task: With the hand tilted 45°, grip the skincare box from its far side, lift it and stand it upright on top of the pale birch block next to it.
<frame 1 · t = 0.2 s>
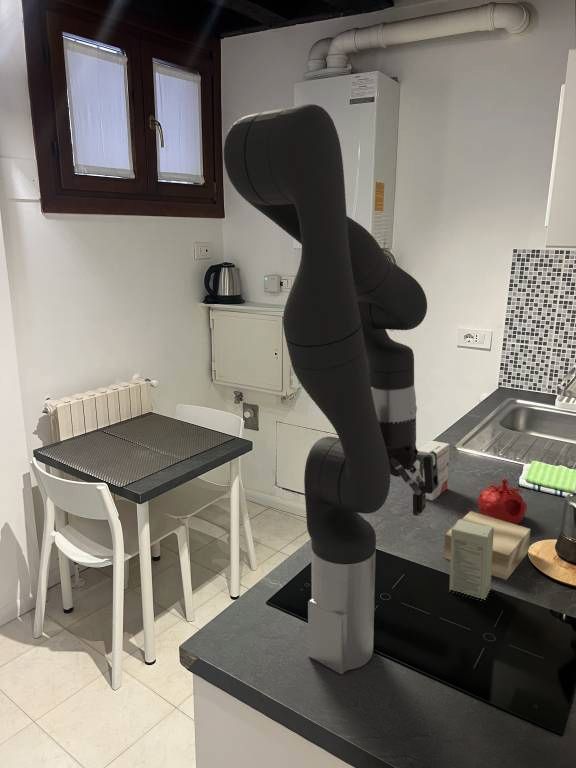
hand: (392, 507, 93), 18 cm above the worktop, tool pointing down, fingers open, 8 cm apart
skincare box: (468, 591, 102), on the worktop
birch block: (486, 554, 112), on the worktop
ink box: (430, 493, 140), on the worktop
pomegranate: (500, 520, 126), on the worktop
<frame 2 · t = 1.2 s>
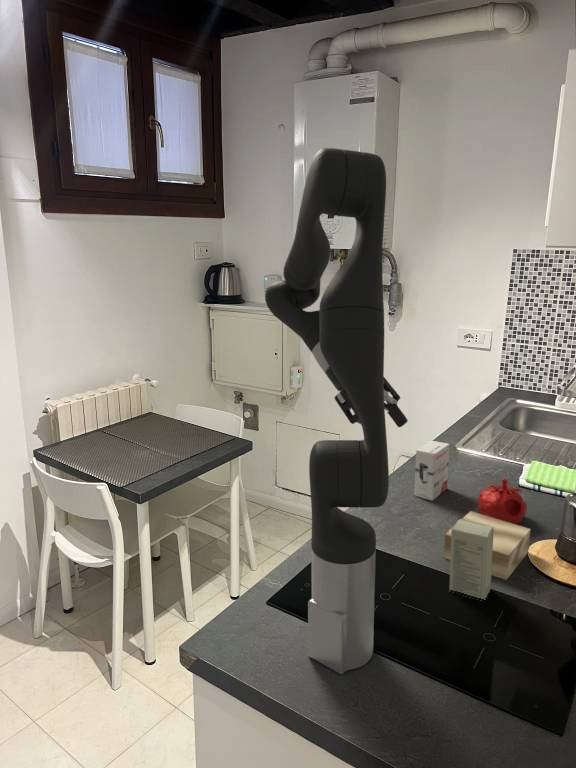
hand: (392, 430, 105), 26 cm above the worktop, tool tilted 45°, fingers open, 8 cm apart
nothing on the worktop moved.
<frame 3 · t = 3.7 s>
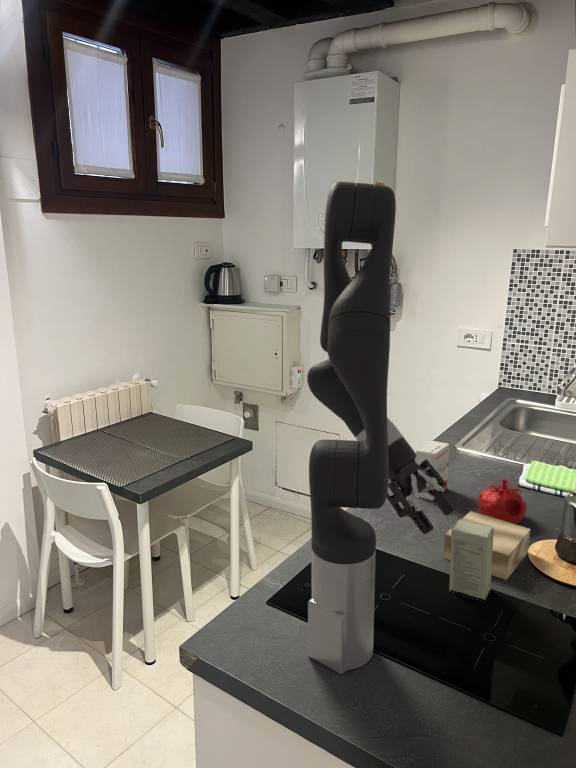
hand: (440, 522, 102), 11 cm above the worktop, tool tilted 45°, fingers open, 8 cm apart
nothing on the worktop moved.
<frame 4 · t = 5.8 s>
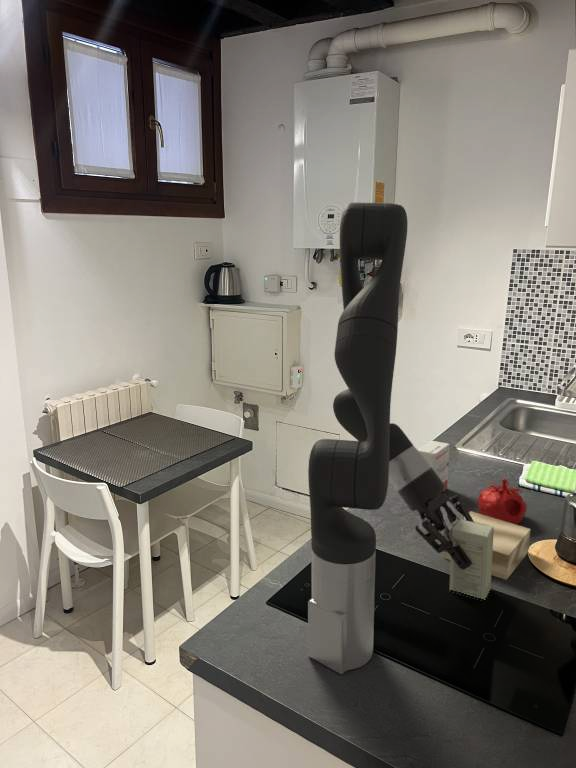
hand: (473, 559, 100), 6 cm above the worktop, tool tilted 45°, fingers closed on skincare box, 4 cm apart
skincare box: (469, 591, 102), on the worktop, touching gripper
everything else where it was.
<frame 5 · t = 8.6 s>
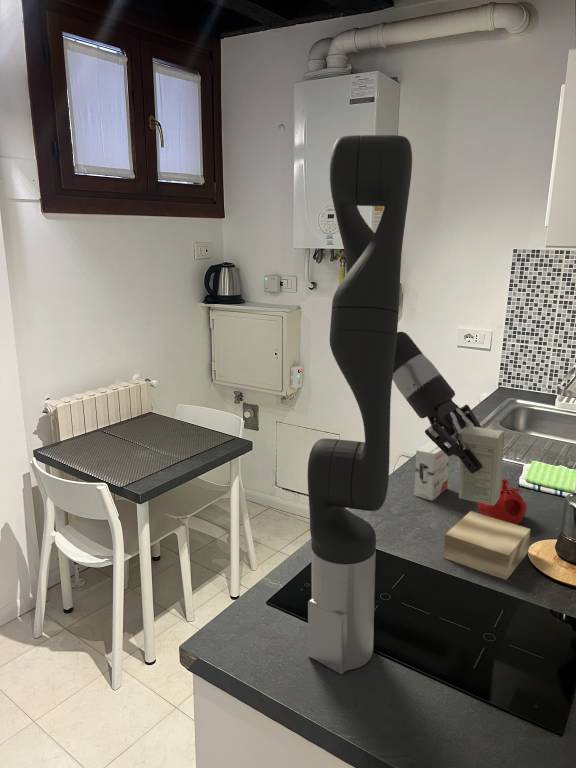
hand: (483, 465, 99), 22 cm above the worktop, tool tilted 45°, fingers closed on skincare box, 4 cm apart
skincare box: (478, 498, 101), point 16 cm above the worktop, touching gripper
everything else where it was.
when the fingers open (12 cm above the worktop, at t = 11.4 s): skincare box drops 1 cm, resting on birch block.
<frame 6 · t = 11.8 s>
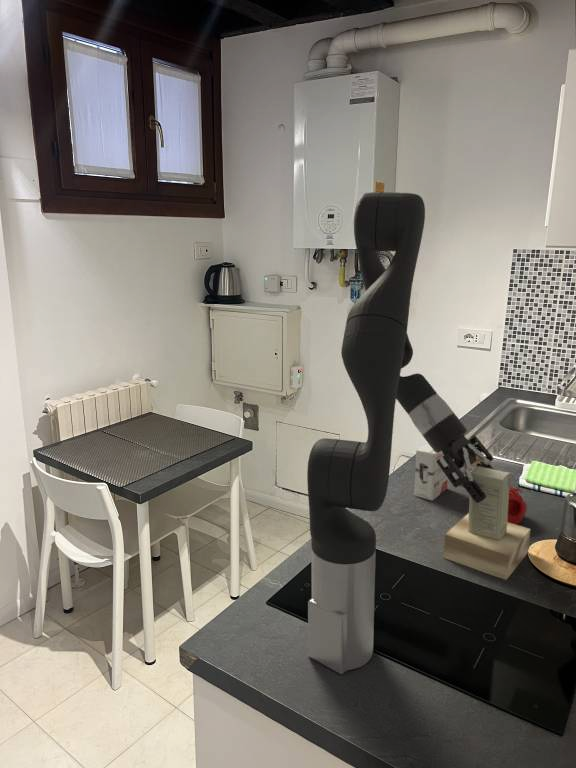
hand: (490, 492, 109), 13 cm above the worktop, tool tilted 45°, fingers open, 8 cm apart
skincare box: (486, 532, 111), point 5 cm above the worktop, touching birch block
everything else where it was.
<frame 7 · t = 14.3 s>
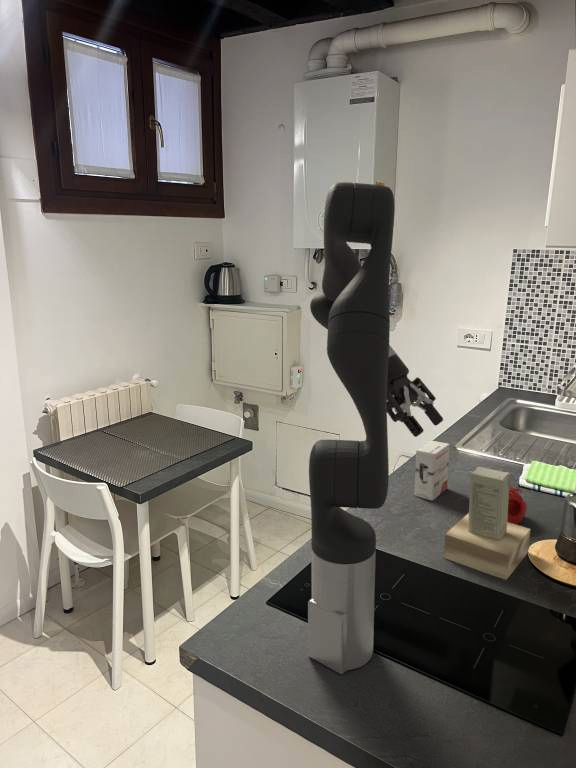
hand: (430, 428, 115), 23 cm above the worktop, tool tilted 45°, fingers open, 8 cm apart
nothing on the worktop moved.
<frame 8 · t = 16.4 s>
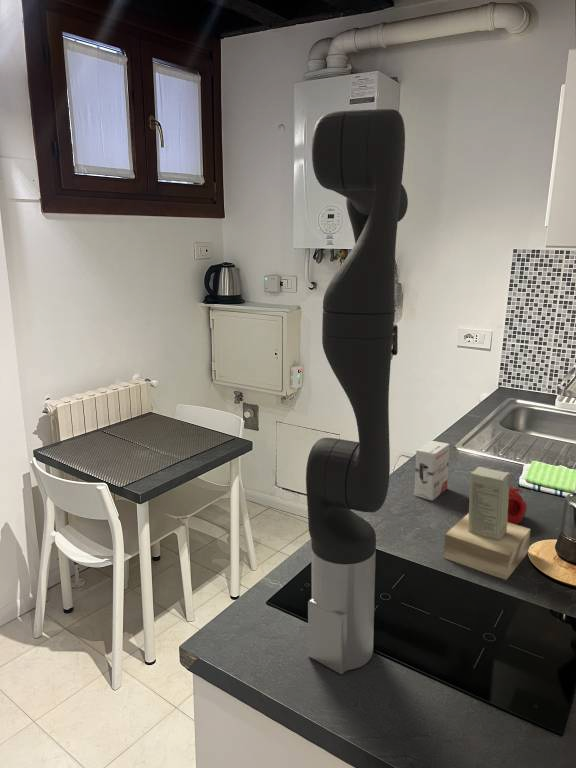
hand: (372, 383, 110), 33 cm above the worktop, tool pointing down, fingers open, 8 cm apart
nothing on the worktop moved.
at the end: skincare box inside the target area on the birch block (0.3 cm from its centre), point 4.8 cm above the birch block's base; skincare box tilted 0°; the gripper is holding nothing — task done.
